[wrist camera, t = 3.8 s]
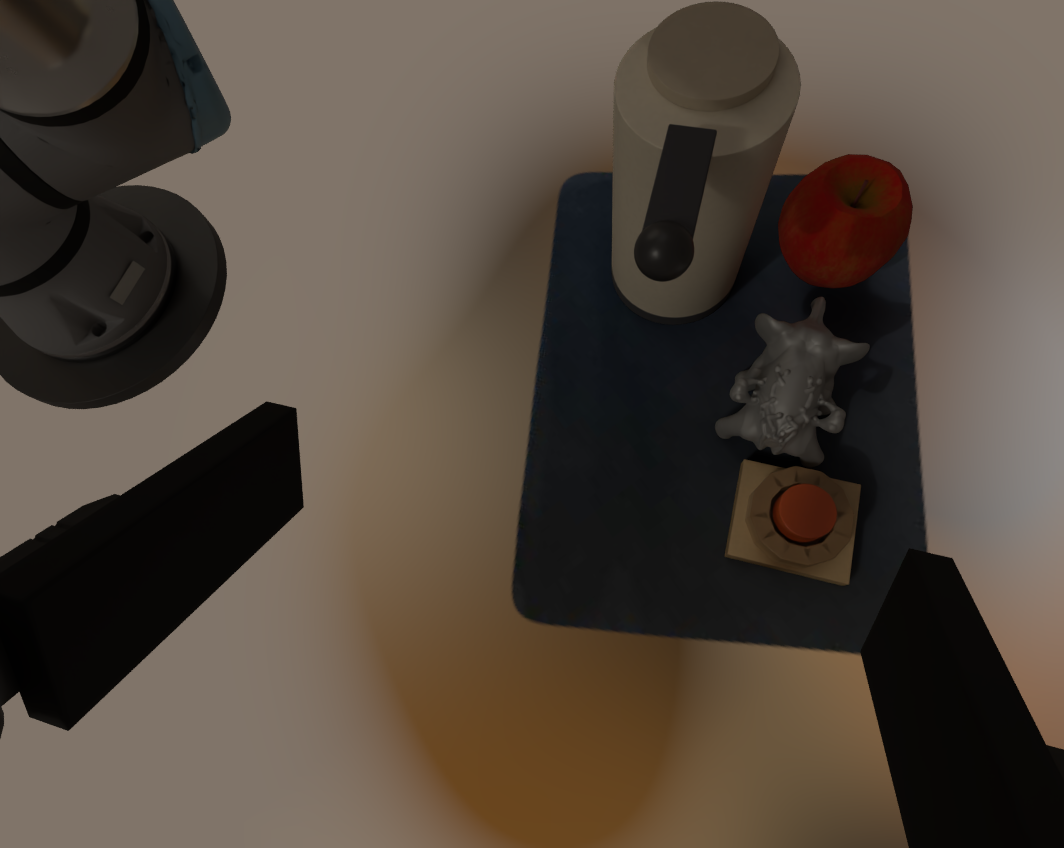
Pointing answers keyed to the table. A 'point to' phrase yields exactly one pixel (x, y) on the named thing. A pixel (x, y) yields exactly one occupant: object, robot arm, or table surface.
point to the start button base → (769, 547)
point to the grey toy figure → (791, 387)
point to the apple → (845, 221)
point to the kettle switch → (675, 203)
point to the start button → (804, 513)
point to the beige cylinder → (738, 155)
